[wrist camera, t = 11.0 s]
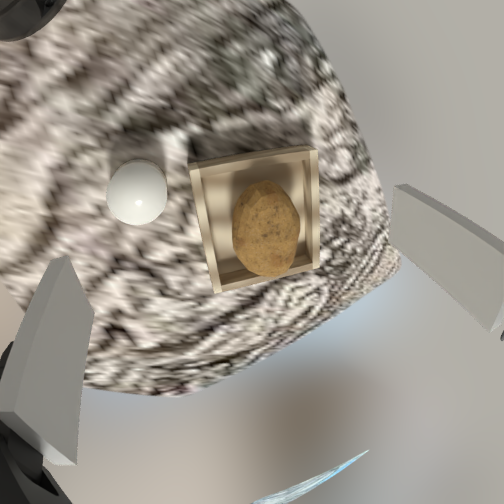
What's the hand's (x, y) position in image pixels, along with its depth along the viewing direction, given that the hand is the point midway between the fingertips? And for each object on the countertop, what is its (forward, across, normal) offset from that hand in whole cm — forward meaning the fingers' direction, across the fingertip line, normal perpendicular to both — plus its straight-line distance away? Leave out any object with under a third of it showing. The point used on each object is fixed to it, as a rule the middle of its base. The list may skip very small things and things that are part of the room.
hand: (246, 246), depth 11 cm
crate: (+33, +8, -14) cm, 36 cm away
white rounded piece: (+33, -8, -6) cm, 34 cm away
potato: (+32, +8, -14) cm, 36 cm away
